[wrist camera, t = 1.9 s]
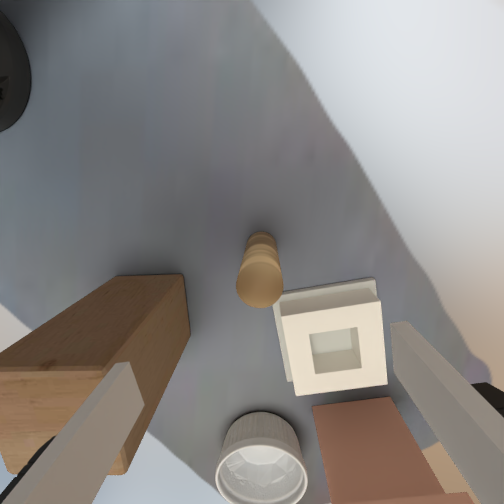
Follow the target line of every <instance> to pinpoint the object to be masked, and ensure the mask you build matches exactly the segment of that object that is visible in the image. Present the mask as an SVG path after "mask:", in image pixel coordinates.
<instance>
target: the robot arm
mask: <svg viewBox="0 0 504 504" xmlns="http://www.w3.org/2000/svg"><path fill="white" fill-rule="evenodd" d="M29 91H30V69H29V63H28V59H27V55H26V52H25V49H24V46H23V44H22V42H21V39H20V37H19V36H18V34H17V32H16V30H15V29H14V27H13V26H12V24H11V23H10V22H9V20H8V19H7V18H6V17H5V15H4V14H3V13H2V12H1V11H0V131H3V130H4V129H6V128H8V127H9V126H11V125H12V124H13V123H14V122H15V121H16V120H17V119H18V118H19V116H20V115H21V114H22V112H23V110H24V108H25V106H26V103H27V100H28V96H29ZM390 328H391V340H392V353H393V365H394V373H395V375H396V376H397V378H398V379H399V381H400V382H401V384H402V385H403V387H404V388H405V390H406V391H407V393H408V394H409V396H410V397H411V399H412V400H413V402H414V403H415V405H416V406H417V408H418V409H419V411H420V412H421V414H422V415H423V417H424V418H425V420H426V421H427V423H428V424H429V426H430V427H431V429H432V430H433V432H434V433H435V435H436V436H437V438H438V439H439V441H440V442H441V444H442V445H443V447H444V449H445V450H446V451H447V453H448V455H449V456H450V457H451V459H452V461H453V462H454V464H455V465H456V467H457V468H458V469H459V471H460V473H461V474H462V476H463V477H464V479H465V480H466V482H467V483H468V485H469V486H470V488H471V489H472V491H473V492H474V494H475V495H476V496H477V498H478V500H479V501H480V503H481V504H504V392H503V391H501V390H499V389H497V388H495V387H494V386H492V385H490V384H488V383H486V382H485V383H476V384H469V383H468V382H467V381H466V380H465V379H464V378H463V377H462V376H461V375H460V374H459V373H458V372H457V371H456V369H455V368H454V367H453V366H452V365H451V364H450V363H449V362H448V361H447V360H446V359H445V358H444V357H443V356H442V355H441V354H440V353H439V352H438V351H437V350H436V349H435V348H434V347H433V346H432V345H431V344H430V343H429V342H428V341H427V340H426V339H425V338H424V337H423V336H422V335H421V334H420V333H419V332H418V331H417V330H416V329H415V328H414V327H413V326H412V325H411V324H410V323H409V322H408V321H402V322H395V323H390ZM144 405H145V404H144V402H143V399H142V396H141V393H140V390H139V388H138V385H137V382H136V379H135V376H134V373H133V371H132V368H131V365H130V362H122V363H115V365H114V366H113V367H112V368H111V370H110V371H109V372H108V373H107V374H106V376H105V377H104V378H103V379H102V381H101V382H100V383H99V384H98V386H97V387H96V388H95V389H94V390H93V392H92V393H91V394H90V395H89V397H88V398H87V399H86V400H85V401H84V403H83V404H82V405H81V406H80V408H79V409H78V410H77V411H76V413H75V414H74V415H73V416H72V417H71V419H70V420H69V421H68V422H67V424H66V425H65V426H64V427H63V428H62V430H61V431H60V432H59V433H58V435H57V436H53V437H52V438H51V439H50V440H48V441H47V442H46V443H45V444H44V445H43V446H41V447H40V448H39V449H38V450H37V452H36V453H35V454H34V455H33V456H32V457H31V459H30V460H29V461H28V462H27V465H25V466H24V467H23V468H22V469H21V471H20V472H19V473H18V475H17V477H15V478H14V479H13V480H12V481H11V482H10V484H9V485H8V486H7V487H6V489H5V490H4V491H3V492H2V493H1V494H0V504H92V502H93V500H94V498H95V497H96V495H97V493H98V491H99V489H100V487H101V485H102V483H103V482H104V480H105V478H106V476H107V474H108V472H109V471H110V469H111V467H112V465H113V463H114V461H115V459H116V457H117V456H118V454H119V452H120V450H121V448H122V446H123V444H124V443H125V441H126V439H127V437H128V435H129V433H130V431H131V429H132V428H133V426H134V424H135V422H136V420H137V418H138V416H139V415H140V413H141V411H142V409H143V407H144Z"/></svg>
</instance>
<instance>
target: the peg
mask: <svg viewBox="0 0 504 504" xmlns="http://www.w3.org/2000/svg"><path fill="white" fill-rule="evenodd" d="M236 289H237V293H238V295H239V297H240V298H241V300H242V301H243V302H244V303H246V304H247V305H249V306H252V307H255V308H265V307H268V306H271V305H273V304H274V303H276V302H277V301H278V300H279V298H280V297H281V295H282V292H283V279H282V274H281V268H280V263H279V257H278V251H277V246H276V241H275V239H274V238H273V236H272V235H270V234H269V233H266V232H256V233H254V234H253V235H251V236H250V237H249V239H248V241H247V244H246V248H245V252H244V256H243V259H242V263H241V267H240V271H239V274H238V278H237V282H236Z"/></svg>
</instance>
